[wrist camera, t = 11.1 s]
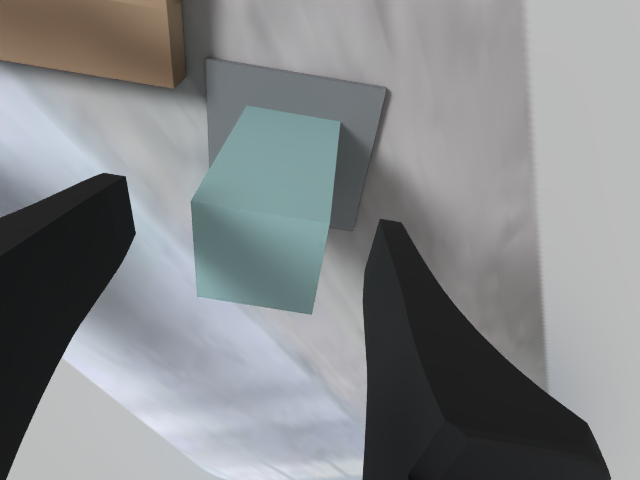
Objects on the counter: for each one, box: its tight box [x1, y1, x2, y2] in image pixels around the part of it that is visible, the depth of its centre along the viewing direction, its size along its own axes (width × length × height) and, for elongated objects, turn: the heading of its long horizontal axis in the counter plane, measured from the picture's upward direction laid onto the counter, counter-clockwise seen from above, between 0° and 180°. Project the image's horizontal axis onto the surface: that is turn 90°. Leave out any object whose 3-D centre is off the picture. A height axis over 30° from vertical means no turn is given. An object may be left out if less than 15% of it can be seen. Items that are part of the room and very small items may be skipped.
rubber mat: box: [205, 57, 386, 231], centre depth 21 cm, size 8×8×1 cm
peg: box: [191, 106, 340, 315], centre depth 17 cm, size 4×4×8 cm
